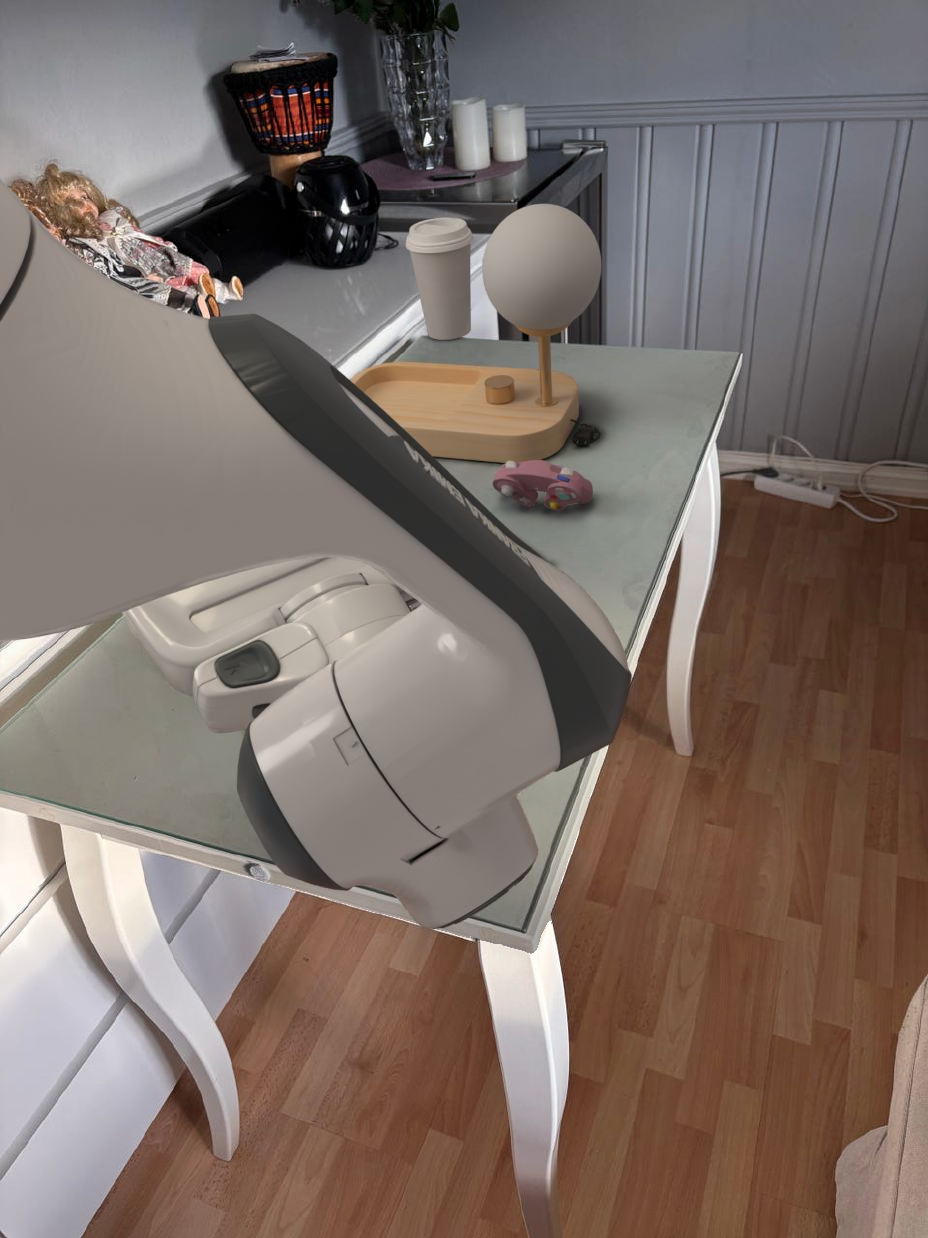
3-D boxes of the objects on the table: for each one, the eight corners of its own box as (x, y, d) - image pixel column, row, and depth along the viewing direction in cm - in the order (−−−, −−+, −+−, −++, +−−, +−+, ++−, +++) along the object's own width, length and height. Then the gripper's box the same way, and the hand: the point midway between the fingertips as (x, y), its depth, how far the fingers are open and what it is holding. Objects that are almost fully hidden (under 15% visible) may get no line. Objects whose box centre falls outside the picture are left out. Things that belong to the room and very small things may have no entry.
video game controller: (498, 515, 98) (482, 479, 92) (510, 479, 99) (495, 441, 93) (587, 527, 94) (577, 491, 88) (598, 490, 96) (589, 452, 90)
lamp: (316, 446, 111) (269, 230, 95) (374, 385, 123) (340, 184, 107) (583, 471, 100) (580, 233, 84) (616, 401, 112) (619, 181, 97)
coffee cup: (493, 331, 133) (485, 224, 124) (437, 349, 130) (424, 241, 121) (460, 313, 140) (450, 211, 131) (406, 331, 137) (391, 227, 127)
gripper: (506, 557, 54) (392, 384, 58) (175, 708, 46) (69, 496, 50) (483, 604, 59) (381, 443, 63) (185, 745, 52) (89, 552, 56)
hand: (240, 467), depth 57 cm, fingers open, 8 cm apart
